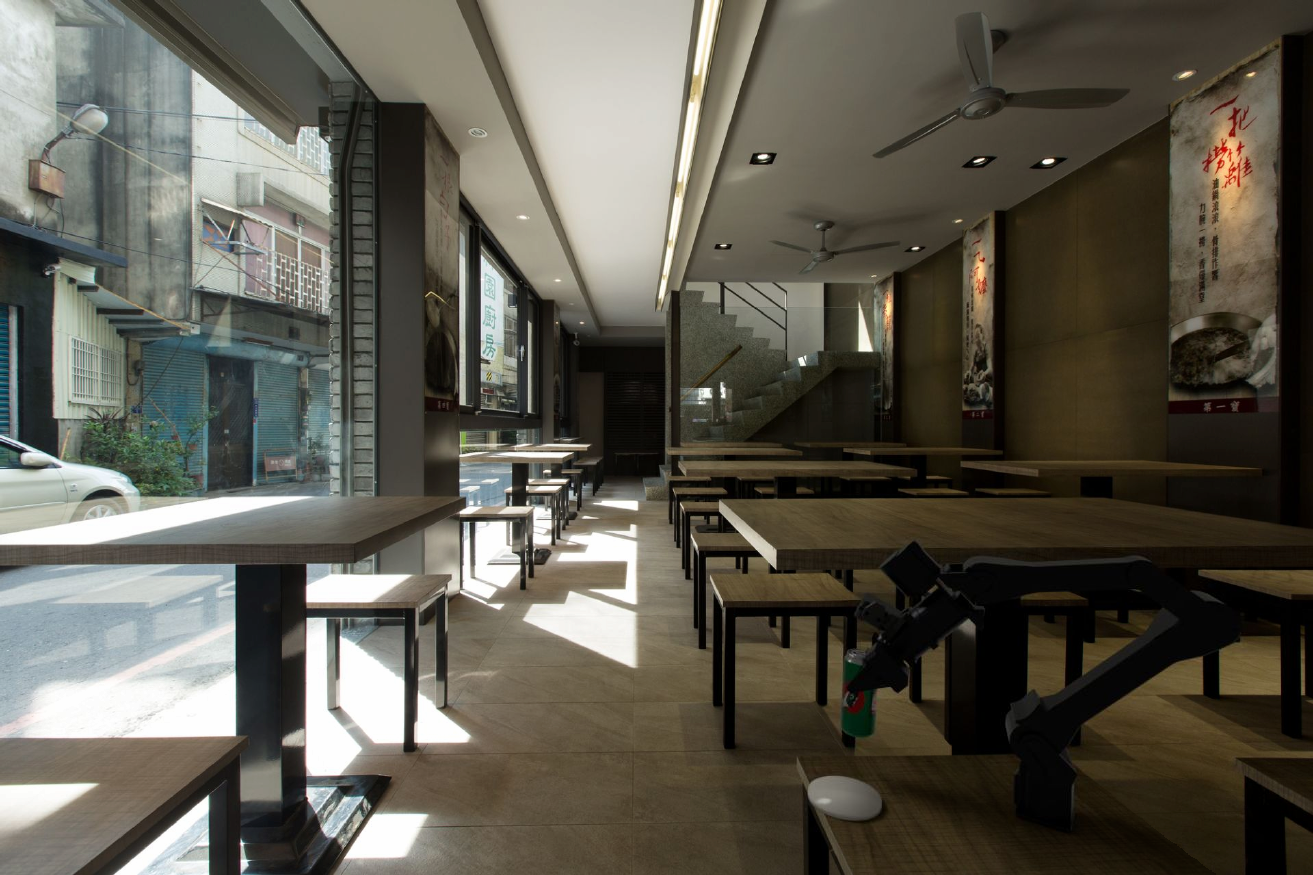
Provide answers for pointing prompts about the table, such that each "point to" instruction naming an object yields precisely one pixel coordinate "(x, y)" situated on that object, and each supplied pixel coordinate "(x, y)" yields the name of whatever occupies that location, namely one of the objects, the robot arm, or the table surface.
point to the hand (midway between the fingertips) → (850, 684)
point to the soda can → (857, 699)
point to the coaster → (844, 798)
